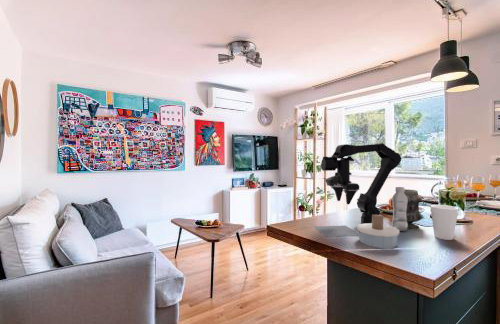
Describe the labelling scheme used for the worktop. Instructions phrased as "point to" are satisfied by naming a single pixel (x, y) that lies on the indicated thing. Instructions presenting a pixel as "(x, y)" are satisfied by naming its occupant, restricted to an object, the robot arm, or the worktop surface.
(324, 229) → the mat
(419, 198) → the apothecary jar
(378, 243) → the dish
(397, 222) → the plastic bottle
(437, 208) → the foam cup
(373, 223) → the lid
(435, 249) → the worktop surface
